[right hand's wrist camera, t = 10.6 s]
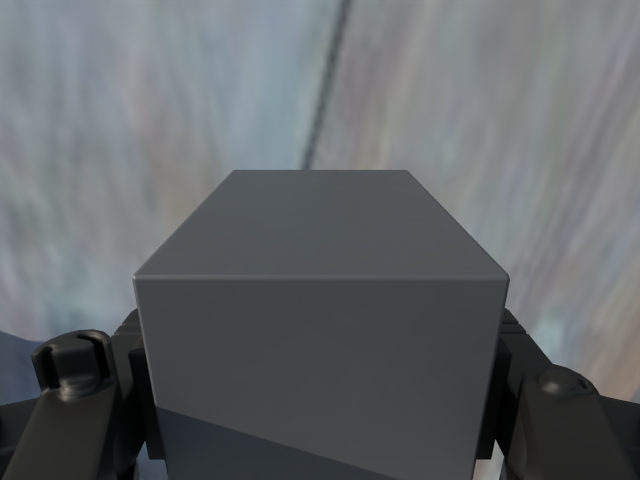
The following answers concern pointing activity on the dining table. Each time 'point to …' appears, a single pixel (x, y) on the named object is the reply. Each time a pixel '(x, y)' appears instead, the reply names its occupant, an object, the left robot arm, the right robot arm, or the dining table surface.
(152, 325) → the bar
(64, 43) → the dining table surface
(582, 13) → the dining table surface
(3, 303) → the dining table surface
